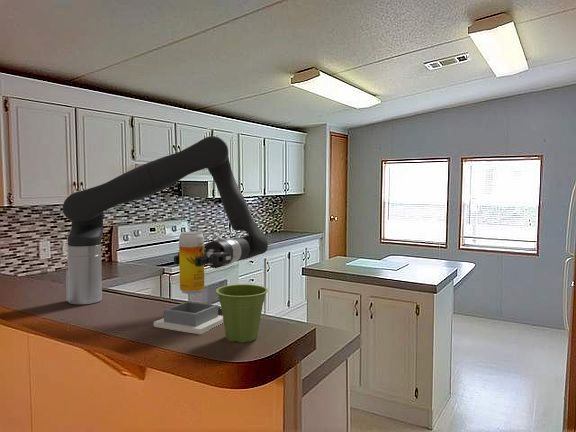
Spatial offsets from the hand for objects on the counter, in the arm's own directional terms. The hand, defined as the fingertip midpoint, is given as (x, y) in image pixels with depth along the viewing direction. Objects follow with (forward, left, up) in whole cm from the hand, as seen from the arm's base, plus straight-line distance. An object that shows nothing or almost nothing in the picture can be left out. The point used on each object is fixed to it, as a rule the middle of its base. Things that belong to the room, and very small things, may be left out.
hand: (185, 261), depth 109 cm
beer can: (0, +3, -8) cm, 9 cm away
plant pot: (+17, -2, -16) cm, 24 cm away
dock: (0, +2, -16) cm, 16 cm away
